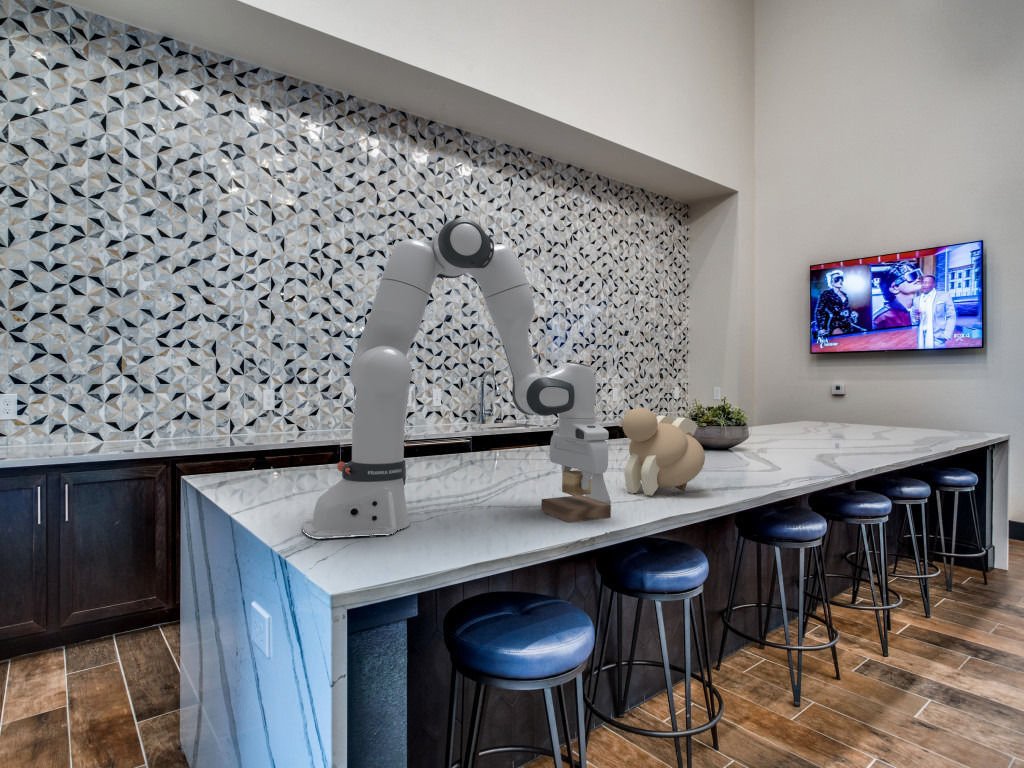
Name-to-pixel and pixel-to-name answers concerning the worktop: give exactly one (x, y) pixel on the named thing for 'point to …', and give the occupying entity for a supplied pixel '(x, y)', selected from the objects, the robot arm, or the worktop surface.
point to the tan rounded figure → (660, 451)
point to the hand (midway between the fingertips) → (576, 486)
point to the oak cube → (573, 483)
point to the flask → (598, 489)
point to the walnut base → (576, 508)
